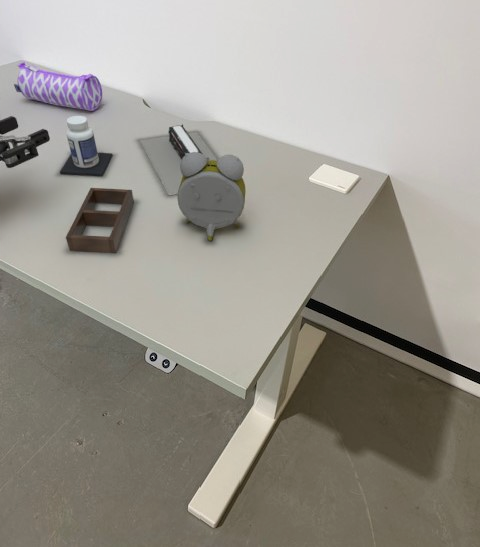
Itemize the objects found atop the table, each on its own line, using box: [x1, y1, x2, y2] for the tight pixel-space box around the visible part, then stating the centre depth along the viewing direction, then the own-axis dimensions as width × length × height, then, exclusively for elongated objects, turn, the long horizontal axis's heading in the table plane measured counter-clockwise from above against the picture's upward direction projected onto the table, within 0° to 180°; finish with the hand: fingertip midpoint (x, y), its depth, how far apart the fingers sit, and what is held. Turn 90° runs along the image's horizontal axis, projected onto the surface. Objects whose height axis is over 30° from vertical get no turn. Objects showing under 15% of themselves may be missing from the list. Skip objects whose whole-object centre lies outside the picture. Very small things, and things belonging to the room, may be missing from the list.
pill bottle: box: [66, 115, 99, 168], centre depth 89 cm, size 5×5×10 cm
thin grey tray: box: [139, 123, 218, 196], centre depth 94 cm, size 14×25×4 cm, turn 23°
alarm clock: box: [177, 152, 247, 241], centre depth 73 cm, size 12×7×15 cm, turn 86°
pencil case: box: [13, 61, 103, 112], centre depth 111 cm, size 22×9×10 cm, turn 72°
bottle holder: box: [65, 187, 135, 254], centre depth 77 cm, size 8×15×3 cm, turn 179°
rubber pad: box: [59, 152, 113, 177], centre depth 92 cm, size 9×9×1 cm
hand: (31, 127), depth 77 cm, fingers open, 8 cm apart
